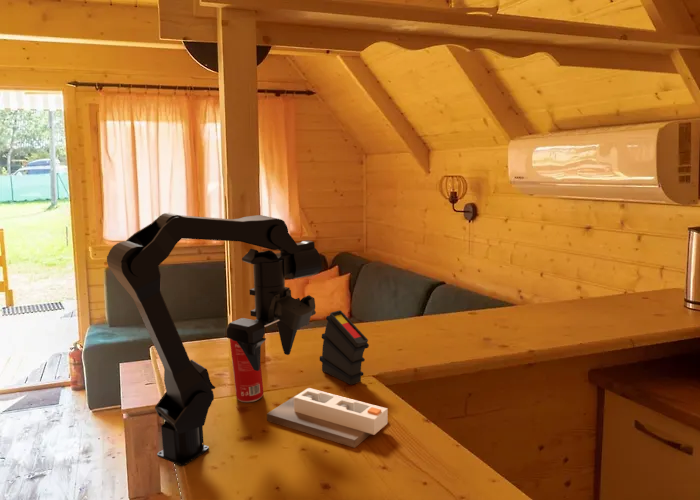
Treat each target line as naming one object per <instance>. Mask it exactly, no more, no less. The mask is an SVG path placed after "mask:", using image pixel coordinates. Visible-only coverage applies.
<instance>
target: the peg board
mask: <svg viewBox="0 0 700 500" xmlns="http://www.w3.org/2000/svg"><path fill="white" fill-rule="evenodd" d="M303 391H304V390H302V391H301V392H303ZM301 392H299V393H297V394H296V395H294V396H292V397H290V398H289V399H288V400H287V401H284V402H283V403H281V404H280V405H279V406H276V407H275V408H274V409H271V410H270V411H269V412H267V413H266V420H267V421H268V422H270V423H273V424H277V425H280V426H283V427H285V428H289V429H292V430H296V431H299V432H302V433H306V434H308V435H312V436H314V437H319V438H322V439H325V440H327V441H331V442H334V443H338V444H341V445H345V446H347V447H351V448H354V449H355V448H357V447H358V446H359V445H360V444H362V443H363V442H364V441H365V440H366V439H367V438H369V436H371V434H370V433H366V432H363V431H360V430H356V429H353V428H349V427H346V426H343V425H339V424H336V423H332V422H329V421H325V420H322V419H319V418H315V417H312V416H308V415H305V414H302V413H298V412H295V411H294V397H295V396H297V395H298V394H300V393H301ZM306 397H309V398H312V400H314V396H313V395H307V396H306ZM340 406H342V407H346V408H347V410H348V405H346V404H342V405H340Z"/></svg>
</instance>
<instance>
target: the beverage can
mask: <svg viewBox="0 0 700 500" xmlns="http://www.w3.org/2000/svg"><path fill="white" fill-rule="evenodd" d="M229 344H230V353H231V362H232V371H233V380H234V389H235V396H236V397H235V398H236V399H237V400H238V401H239V402H241V403H254V402H256V401H258V400H261V398H262V397H263V396H264V394H265V393H264V383H263V382H264V381H263V375H262V374H263V373H262V366H261V365H262V364H261V362H260V370H259V371H256V370H254V369H253V367H252V365H251V364H250V362H249V360H248V358H247V357H246V355H245V353H244V351H243V350H242V348H241V347H240V346H239V344H238V343H237V341H233V340H232V339H229Z"/></svg>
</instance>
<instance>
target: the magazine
mask: <svg viewBox="0 0 700 500" xmlns="http://www.w3.org/2000/svg"><path fill="white" fill-rule="evenodd" d="M325 319H326V321H327V322H326V326H325V331H324V333H322V334H321V339H322V340H323V341H322V352H321V353H322V355H320V356H319V362H320V363H321V371H322V372H324V373H326V374H328V375H330V376H332V377H334V378H336V379H338V380H340V381H342V382H344V383H346V384H349V386H350V385H351V386H352V385H354V384H357V383H360V382H361V381H362V378H361V377H362V376H364V372H363V371H362V363H364V362H365V358H364V357H363V356H364V352H365V351H366V350H365V349H368V348H369V346H370V345H369V343H368V342H369V339H368V338H367V337H366V336H365V335H364V334H363V333H362V332H361V330H360V329H359V328H357V326H356V325H355V323H353V322H352V321H351V319H350V318H349V317H348V316H347V315H346V314H345V313H344V312H343V311H342V310H335V311H332V312H330V313H329V315H327V316H326V317H325Z"/></svg>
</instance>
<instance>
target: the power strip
mask: <svg viewBox="0 0 700 500" xmlns="http://www.w3.org/2000/svg"><path fill="white" fill-rule="evenodd" d="M302 391H303V392H302ZM302 391H301V392H299V393H300V394H299V393H297V394H298V395H297V394H296V395H297V396H296V395H294V396H295V397H294V396H293V397H294V411H295V412H298V413H302V414H305V415H308V416H312V417H315V418H319V419H322V420H325V421H329V422H332V423H336V424H339V425H343V426H346V427H349V428H353V429H356V430H360V431H363V432H366V433H370V435H373V436H374V435H376V434H377V433H378V432H380V430H382V429H383V428H385V426H386V425H388V417H389V416H388V414H389V412H388V409H389V408H388V407H383V406H379V405H375V404H371V403H368V402H364V401H360V400H357V399H352V398H348V397H344V396H342V395H337V394H334V393H329V392H326V391H323V390H318V389H316V388H311V387H307V388H306V389H304V390H302ZM307 395H313V396H314V400H312V398H309V397H306V396H307ZM342 404H346V405H348V410H347V408H346V407H342V406H340V405H342Z"/></svg>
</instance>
